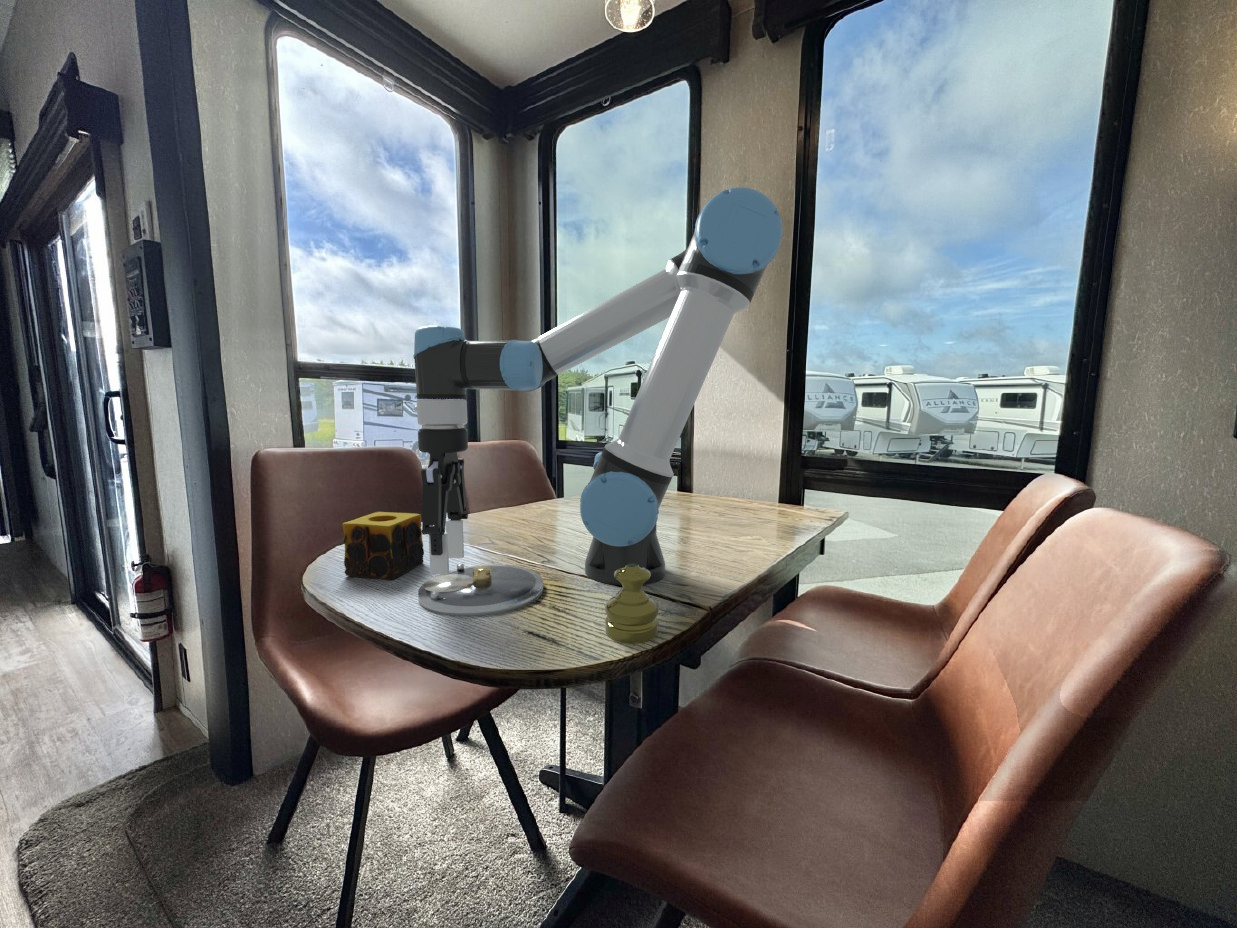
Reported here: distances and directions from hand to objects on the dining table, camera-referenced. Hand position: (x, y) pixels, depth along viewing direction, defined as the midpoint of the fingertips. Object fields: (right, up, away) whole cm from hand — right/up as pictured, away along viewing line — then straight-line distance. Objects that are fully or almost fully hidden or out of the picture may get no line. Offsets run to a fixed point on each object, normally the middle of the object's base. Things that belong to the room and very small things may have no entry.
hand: (448, 564), depth 84 cm
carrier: (+6, -5, +1) cm, 7 cm away
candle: (-16, -3, +11) cm, 20 cm away
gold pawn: (+30, -7, -14) cm, 34 cm away
